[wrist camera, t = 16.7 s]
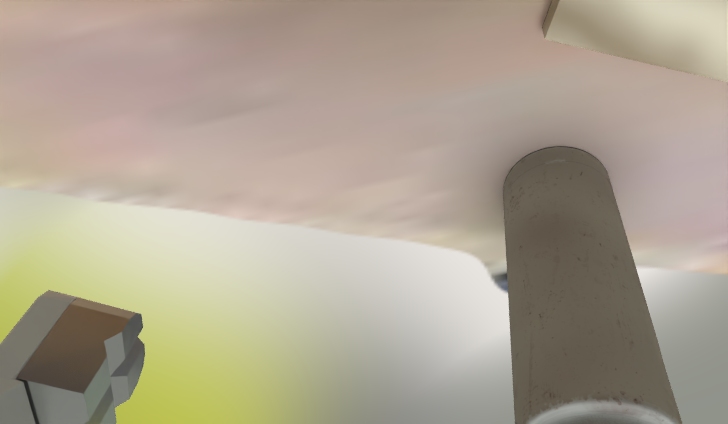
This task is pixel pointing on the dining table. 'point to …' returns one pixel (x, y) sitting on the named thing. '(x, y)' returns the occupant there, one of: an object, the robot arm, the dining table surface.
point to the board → (647, 31)
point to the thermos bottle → (577, 300)
